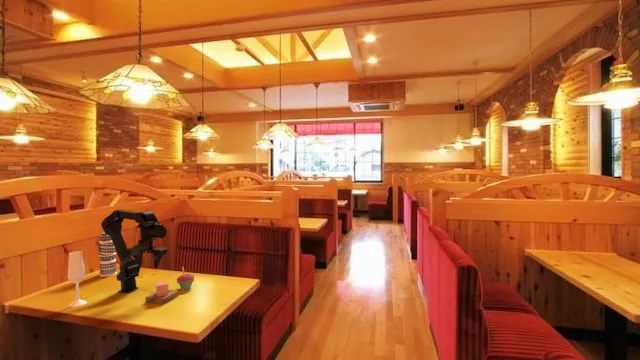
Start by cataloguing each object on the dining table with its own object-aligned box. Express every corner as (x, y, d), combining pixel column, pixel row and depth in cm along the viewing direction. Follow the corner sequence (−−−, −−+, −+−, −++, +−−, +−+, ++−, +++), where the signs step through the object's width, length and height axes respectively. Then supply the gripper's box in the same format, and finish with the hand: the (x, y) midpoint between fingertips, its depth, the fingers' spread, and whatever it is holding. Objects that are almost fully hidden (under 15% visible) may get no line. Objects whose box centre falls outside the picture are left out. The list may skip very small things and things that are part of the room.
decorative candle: (103, 277, 191) (102, 234, 190) (96, 275, 196) (94, 232, 195) (120, 273, 199) (118, 231, 198) (112, 270, 204) (111, 230, 203)
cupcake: (188, 291, 169) (187, 268, 168) (173, 290, 171) (172, 267, 170) (197, 285, 177) (197, 263, 177) (183, 284, 179) (182, 262, 178)
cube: (156, 296, 156) (156, 286, 156) (155, 293, 160) (155, 283, 160) (168, 294, 159) (168, 284, 159) (167, 291, 163) (166, 281, 163)
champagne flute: (76, 300, 159) (74, 250, 158) (90, 300, 159) (88, 250, 158) (65, 306, 152) (62, 254, 151) (79, 306, 152) (77, 254, 151)
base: (145, 302, 156) (145, 297, 156) (160, 294, 166) (160, 289, 166) (164, 304, 154) (164, 298, 154) (178, 295, 163) (178, 290, 163)
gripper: (117, 239, 159) (118, 272, 160) (151, 241, 155) (152, 274, 156) (135, 234, 170) (136, 265, 171) (167, 236, 166) (168, 267, 166)
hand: (148, 268), depth 166 cm, fingers open, 9 cm apart
